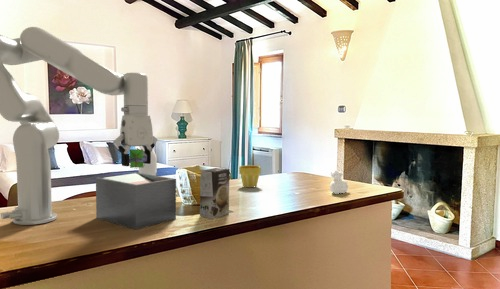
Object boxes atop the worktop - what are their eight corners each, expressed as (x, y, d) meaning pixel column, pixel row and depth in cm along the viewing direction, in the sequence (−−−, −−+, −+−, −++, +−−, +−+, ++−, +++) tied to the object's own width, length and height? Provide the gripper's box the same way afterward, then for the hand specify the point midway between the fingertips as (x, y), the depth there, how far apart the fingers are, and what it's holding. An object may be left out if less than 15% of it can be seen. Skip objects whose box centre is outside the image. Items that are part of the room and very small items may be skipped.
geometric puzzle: (146, 163, 125) (147, 142, 129) (123, 163, 123) (125, 142, 127) (147, 174, 130) (147, 153, 135) (125, 174, 129) (127, 153, 133)
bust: (344, 195, 183) (332, 175, 187) (356, 188, 178) (343, 166, 183) (330, 199, 175) (317, 177, 179) (342, 191, 170) (329, 169, 174)
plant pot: (236, 188, 186) (236, 167, 185) (241, 184, 196) (242, 164, 195) (257, 189, 183) (258, 168, 183) (262, 185, 194) (262, 165, 193)
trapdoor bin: (135, 229, 118) (135, 185, 117) (96, 217, 130) (95, 177, 129) (175, 218, 131) (175, 178, 130) (136, 208, 143) (136, 172, 142)
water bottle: (160, 198, 160) (160, 137, 158) (150, 202, 153) (150, 138, 151) (145, 197, 162) (145, 137, 160) (135, 200, 156) (134, 138, 154)
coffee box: (214, 219, 131) (214, 171, 130) (199, 216, 134) (199, 170, 133) (229, 213, 139) (230, 168, 137) (215, 211, 142) (215, 167, 141)
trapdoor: (128, 195, 122) (128, 191, 122) (102, 180, 130) (103, 177, 130) (160, 188, 132) (161, 185, 132) (135, 175, 140) (135, 173, 140)
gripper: (119, 111, 118) (120, 168, 120) (164, 111, 132) (164, 163, 134) (105, 110, 123) (106, 166, 124) (149, 111, 137) (150, 161, 138)
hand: (136, 164), depth 129 cm, fingers closed on geometric puzzle, 7 cm apart
